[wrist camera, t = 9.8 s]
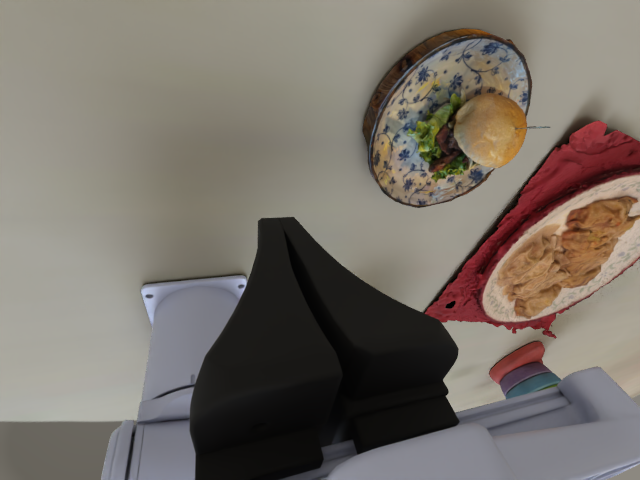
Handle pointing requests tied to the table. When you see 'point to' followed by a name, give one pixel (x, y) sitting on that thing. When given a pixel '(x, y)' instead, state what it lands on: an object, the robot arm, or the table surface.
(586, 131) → the plate with food
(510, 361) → the stacking bear
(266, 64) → the table surface
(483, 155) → the burger
